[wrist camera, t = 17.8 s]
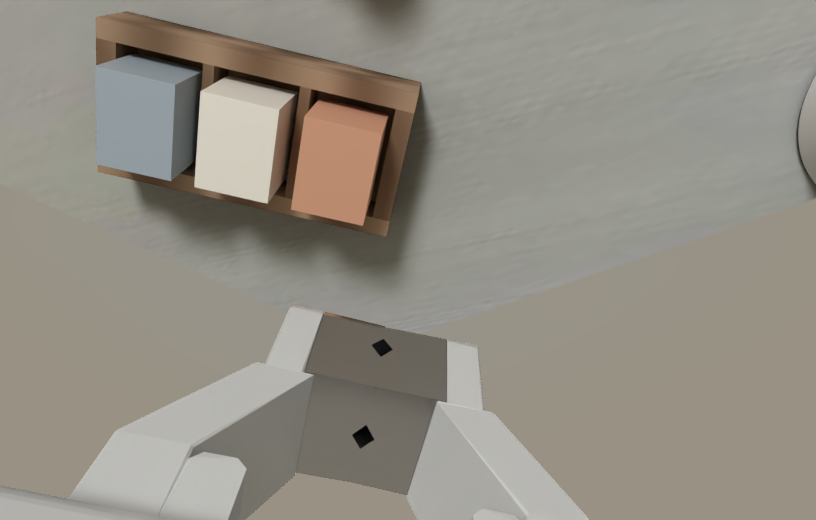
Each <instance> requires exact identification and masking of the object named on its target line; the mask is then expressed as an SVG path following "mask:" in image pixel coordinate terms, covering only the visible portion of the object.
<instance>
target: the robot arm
mask: <svg viewBox="0 0 816 520" xmlns="http://www.w3.org/2000/svg"><path fill="white" fill-rule="evenodd" d="M798 139H799V149H800V154H801V158H802V161H803V164H804V166H805V168H806V170H807V172H808V174H809V176H810V177H811V178H812V180H813V181H814V183H815V184H816V76H815V78H814V80H813V82H812V84H811V86H810V88H809V90H808V92H807V95H806V97H805V100H804V103H803V107H802V110H801V115H800V120H799V130H798ZM295 472H296V473H302V474H308V475H313V476H319V477H324V478H330V479H336V480H342V481H347V482H353V483H357V484H361V485H365V486H370V487H374V488H378V489H383V490H387V491H391V492H395V493H400V494H404V495H407V497H406V498H407V500H408V502H409V504H410V506H411V508H412V510H413V512H414V514H415V516H416V518H417V520H589V519H588V518H587V516H586V515H585V514H584V513H583V512H582V511H581V510H580V508H579V507H578V506H577V505H576V504H575V503H574V502H573V501H572V500H571V498H570V497H569V496H568V495H567V494H566V493H565V492H564V491H563V490H562V489H561V487H560V486H559V485H558V484H557V483H556V482H555V481H554V480H553V479H552V477H551V476H550V475H549V474H548V473H547V472H546V471H545V470H544V469H543V467H542V466H541V465H540V464H539V463H538V462H537V461H536V460H535V459H534V458H533V456H532V455H531V454H530V453H529V452H528V451H527V450H526V449H525V447H524V446H523V445H521V443H520V442H519V441H518V440H517V439H516V438H515V436H514V435H513V434H512V433H511V432H510V431H509V430H508V429H507V428H506V426H505V425H504V424H503V423H502V422H501V421H500V420H499V419H498V418H497V416H496V415H495V414H494V413H492V412H487V411H484V402H483V392H482V382H481V372H480V363H479V351H478V347H477V346H476V345H475V344H471V343H466V342H460V341H455V340H449V339H442V338H437V337H431V336H427V335H422V334H417V333H412V332H406V331H401V330H396V329H391V328H386V327H385V326H382V325H377V324H373V323H369V322H365V321H361V320H357V319H353V318H348V317H344V316H340V315H336V314H332V313H328V312H325V313H323V311H320V310H315V309H310V308H306V307H301V306H296V305H293V306H292V307H291V308H289V311H288V313H287V315H286V318H285V320H284V322H283V325H282V327H281V329H280V331H279V334H278V336H277V338H276V341H275V343H274V345H273V347H272V350H271V352H270V354H269V356H268V359H267V361H266V363H265V364H262V363H257V362H256V363H253V364H251V365H249V366H247V367H245V368H243V369H241V370H239V371H237V372H235V373H233V374H231V375H229V376H227V377H225V378H223V379H221V380H218V381H216V382H214V383H212V384H210V385H208V386H206V387H204V388H202V389H200V390H198V391H196V392H194V393H192V394H190V395H188V396H186V397H184V398H181V399H179V400H177V401H175V402H173V403H171V404H169V405H167V406H165V407H163V408H161V409H159V410H157V411H155V412H153V413H151V414H149V415H147V416H145V417H143V418H140V419H138V420H136V421H134V422H132V423H130V424H128V425H126V426H124V427H122V428H120V429H118V430H116V431H115V432H114V434H113V436H112V437H111V438H110V440H109V441H108V443H107V444H106V445H105V447H104V448H103V450H102V451H101V452H100V454H99V455H98V457H97V458H96V460H95V461H94V463H93V464H92V465H91V467H90V468H89V470H88V471H87V473H86V474H85V475H84V477H83V478H82V480H81V481H80V483H79V484H78V485H77V487H76V488H75V490H74V491H73V493H72V494H71V495H70V497H69V498H68V499H67V498H61V497H56V496H51V495H46V494H41V493H36V492H31V491H25V490H21V489H16V488H11V487H6V486H0V520H245V519H246V518H248V517H249V516H250V515H251V514H252V513H253V512H254V511H255V510H257V509H258V508H259V507H260V506H261V505H262V504H263V503H264V502H266V501H267V500H268V499H269V498H270V497H271V496H272V495H273V494H275V493H276V492H277V491H278V490H279V489H280V488H281V487H282V486H284V485H285V483H287V482H288V481H289V480H290V479H291V478H293V477H294V476H295Z"/></svg>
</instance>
